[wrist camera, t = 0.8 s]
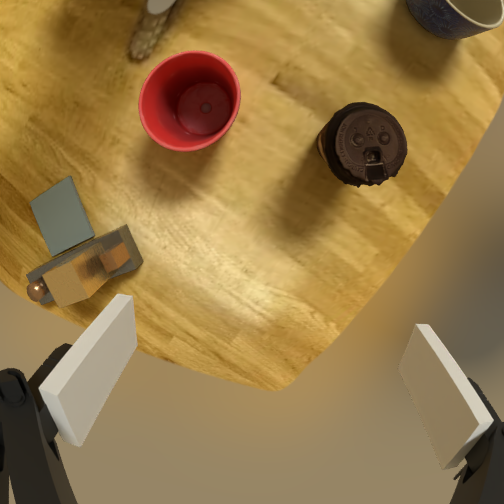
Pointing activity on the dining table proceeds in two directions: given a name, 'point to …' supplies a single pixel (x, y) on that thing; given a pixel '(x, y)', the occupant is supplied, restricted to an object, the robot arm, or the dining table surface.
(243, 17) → the dining table surface
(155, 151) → the dining table surface
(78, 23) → the dining table surface
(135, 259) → the plane body
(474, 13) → the planter
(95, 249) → the tan wooden block
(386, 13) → the dining table surface
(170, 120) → the flower pot
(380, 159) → the coffee cup
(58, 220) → the mat
